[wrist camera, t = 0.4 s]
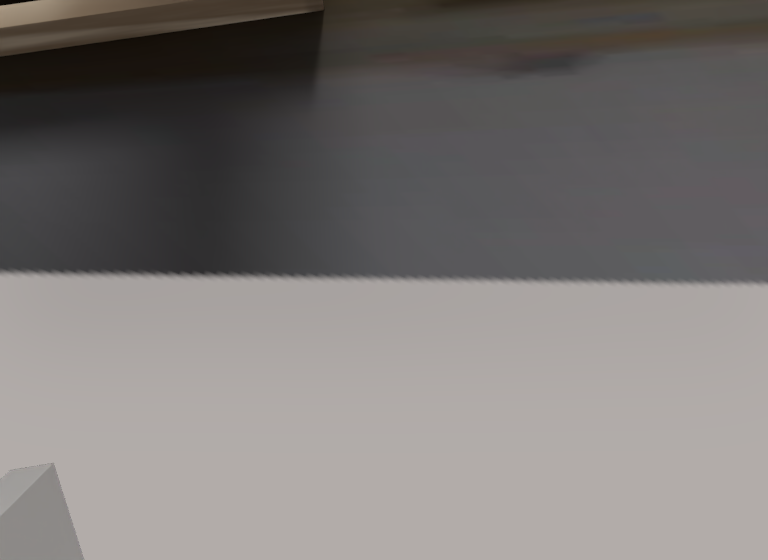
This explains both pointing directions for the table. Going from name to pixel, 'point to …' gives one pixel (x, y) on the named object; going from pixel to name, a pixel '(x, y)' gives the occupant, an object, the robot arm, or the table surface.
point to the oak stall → (125, 19)
